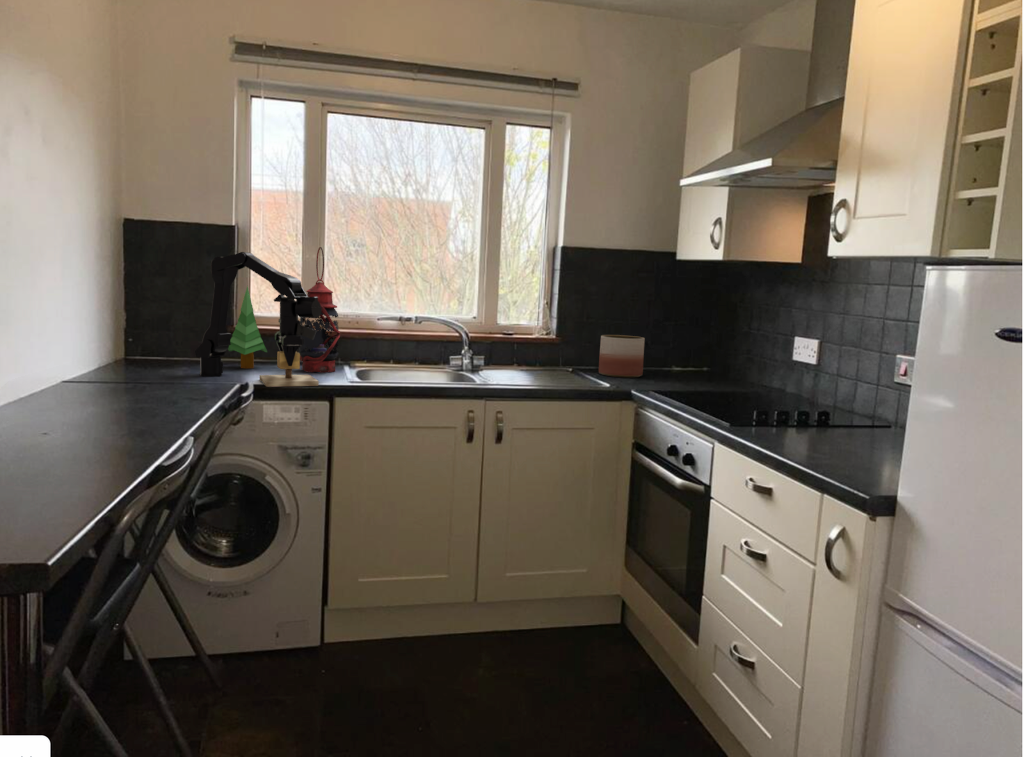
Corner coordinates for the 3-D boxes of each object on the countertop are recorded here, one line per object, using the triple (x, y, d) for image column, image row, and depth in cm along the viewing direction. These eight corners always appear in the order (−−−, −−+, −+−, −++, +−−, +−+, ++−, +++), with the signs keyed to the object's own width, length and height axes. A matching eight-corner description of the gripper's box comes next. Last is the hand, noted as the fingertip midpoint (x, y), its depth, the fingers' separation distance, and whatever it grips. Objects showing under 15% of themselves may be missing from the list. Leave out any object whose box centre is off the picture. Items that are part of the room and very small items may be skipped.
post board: (266, 386, 239) (266, 369, 238) (259, 379, 253) (259, 363, 252) (318, 385, 245) (318, 368, 245) (308, 379, 260) (309, 362, 259)
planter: (642, 374, 319) (645, 336, 317) (642, 379, 301) (644, 339, 299) (599, 371, 322) (601, 334, 320) (596, 376, 304) (599, 336, 302)
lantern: (295, 368, 287) (296, 246, 281) (334, 368, 293) (336, 248, 287) (302, 373, 273) (304, 245, 267) (343, 373, 279) (346, 247, 273)
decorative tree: (218, 366, 282) (218, 284, 278) (259, 364, 292) (259, 285, 289) (234, 370, 272) (234, 285, 268) (275, 368, 283) (276, 286, 279)
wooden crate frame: (280, 369, 245) (280, 353, 244) (277, 366, 250) (277, 351, 249) (299, 368, 247) (299, 353, 247) (296, 366, 252) (296, 351, 252)
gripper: (320, 319, 242) (319, 368, 244) (308, 315, 258) (308, 361, 260) (283, 318, 237) (283, 368, 239) (274, 314, 253) (274, 361, 255)
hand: (288, 364), depth 248 cm, fingers closed on wooden crate frame, 6 cm apart
